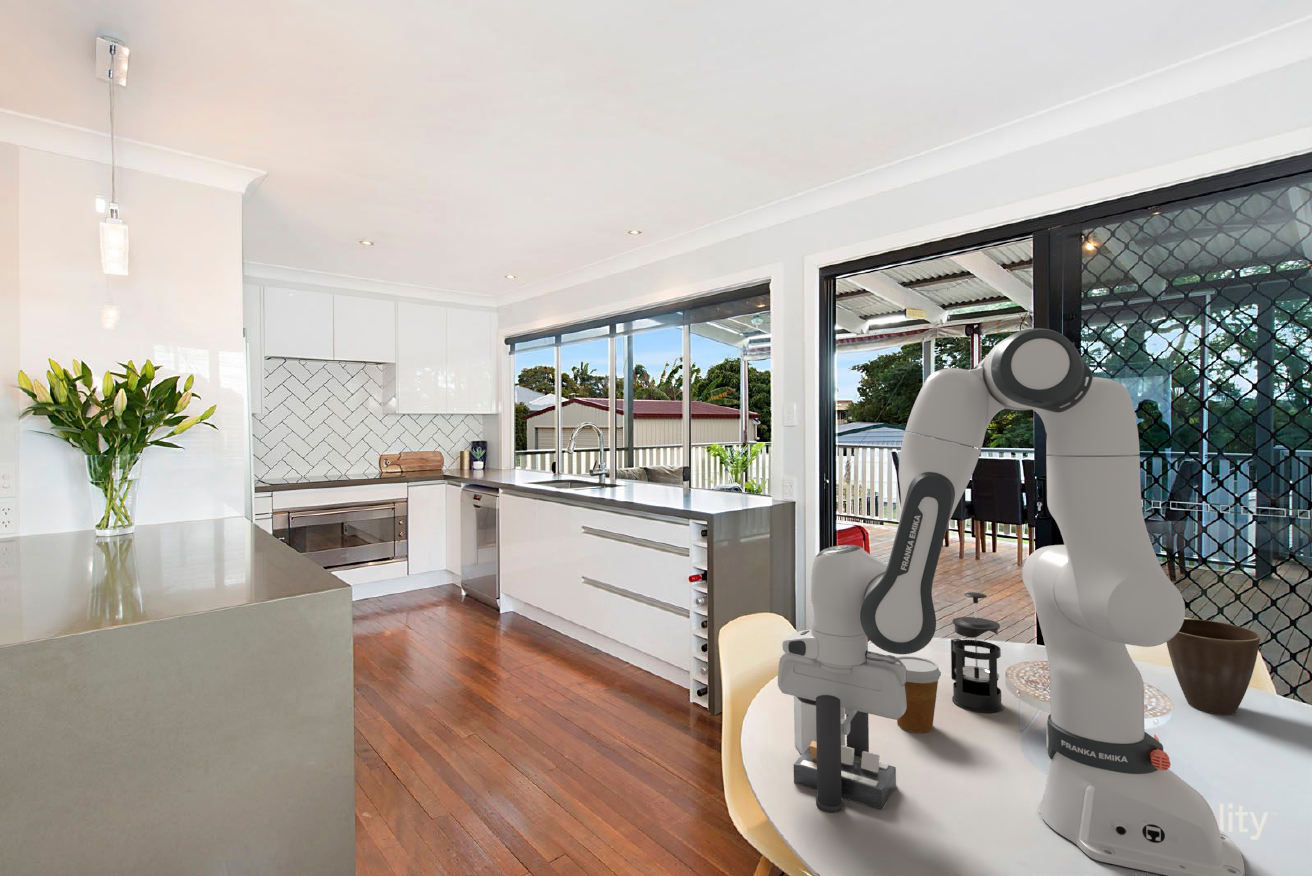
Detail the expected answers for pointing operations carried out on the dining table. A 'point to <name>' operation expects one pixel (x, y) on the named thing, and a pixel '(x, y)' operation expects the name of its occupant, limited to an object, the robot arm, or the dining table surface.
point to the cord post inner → (859, 733)
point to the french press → (975, 682)
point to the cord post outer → (828, 754)
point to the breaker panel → (852, 780)
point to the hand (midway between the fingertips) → (839, 731)
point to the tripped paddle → (813, 749)
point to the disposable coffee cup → (919, 694)
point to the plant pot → (1213, 663)
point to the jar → (807, 723)
